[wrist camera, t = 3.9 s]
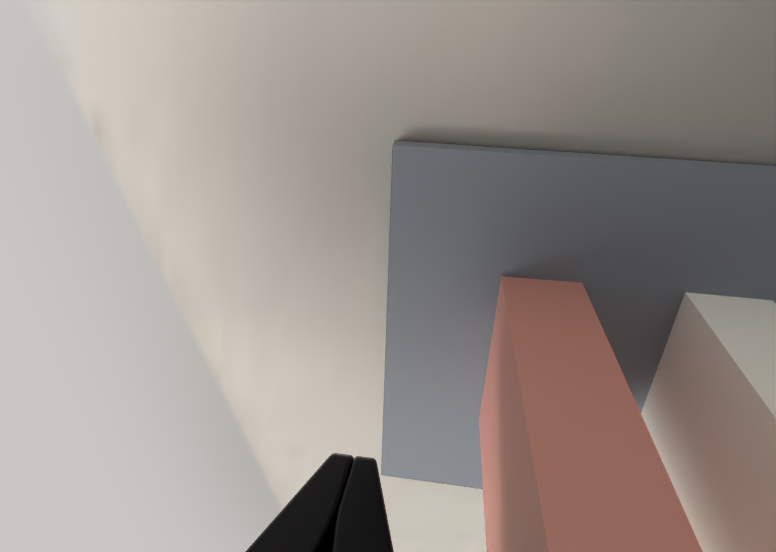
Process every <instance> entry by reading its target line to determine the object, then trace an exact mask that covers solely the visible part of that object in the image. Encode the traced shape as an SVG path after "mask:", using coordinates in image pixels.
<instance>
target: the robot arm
mask: <svg viewBox="0 0 776 552" xmlns="http://www.w3.org/2000/svg"><path fill="white" fill-rule="evenodd" d="M246 552H394V551H393V546H392V541H391V535H390V530H389V525H388V520H387V514H386V509H385V504H384V499H383V493H382V488H381V483H380V478H379V472H378V467H377V462H376V460H375V459H374V458H368V457H361V456H357V457H355V458H353V456H351V455H346V454H338V453H334V454H332V455H330V456H329V458H328V459H327V460H326V461H325V462H324V463H323V464H322V465H321V467H320V468H319V469H318V470H317V471H316V472H315V473H314V475H313V476H312V477H311V478H310V479H309V480H308V481H307V483H306V484H305V485H304V486H303V487H302V488H301V489H300V490H299V492H298V493H297V494H296V495H295V496H294V497H293V498H292V500H291V501H290V502H289V503H288V504H287V505H286V506H285V508H284V509H283V510H282V511H281V512H280V513H279V514H278V516H277V517H276V518H275V519H274V520H273V521H272V522H271V523H270V525H269V526H268V527H267V528H266V529H265V530H264V531H263V533H262V534H261V535H260V536H259V537H258V538H257V539H256V541H255V542H254V543H253V544H252V545H251V546H250V547H249V549H248V550H247V551H246Z"/></svg>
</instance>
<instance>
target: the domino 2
mask: <svg viewBox="0 0 776 552" xmlns="http://www.w3.org/2000/svg"><path fill="white" fill-rule="evenodd" d="M641 415H642V417H643V420H644V422H645V424H646V426H647V428H648V431H649V433H650V435H651V437H652V440H653V442H654V444H655V446H656V449H657V451H658V453H659V455H660V458H661V460H662V462H663V464H664V467H665V469H666V471H667V473H668V475H669V478H670V480H671V482H672V484H673V487H674V489H675V491H676V493H677V496H678V498H679V500H680V502H681V505H682V507H683V509H684V511H685V513H686V516H687V518H688V520H689V522H690V525H691V527H692V529H693V531H694V534H695V536H696V538H697V540H698V543H699V545H700V547H701V549H702V551H703V552H776V303H775V302H774V301H773V300H763V299H753V298H742V297H731V296H720V295H710V294H699V293H688V292H685V294H684V297H683V300H682V302H681V305H680V308H679V311H678V313H677V316H676V319H675V322H674V324H673V327H672V330H671V333H670V335H669V338H668V341H667V344H666V346H665V349H664V352H663V355H662V357H661V360H660V363H659V366H658V368H657V371H656V374H655V377H654V379H653V382H652V385H651V388H650V390H649V393H648V396H647V398H646V401H645V404H644V407H643V409H642V412H641Z"/></svg>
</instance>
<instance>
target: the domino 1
mask: <svg viewBox="0 0 776 552" xmlns="http://www.w3.org/2000/svg"><path fill="white" fill-rule="evenodd" d="M479 432H480V448H481V464H482V481H483V497H484V513H485V529H486V546H487V552H703V551H702V549H701V547H700V545H699V543H698V540H697V538H696V536H695V534H694V531H693V529H692V527H691V525H690V522H689V520H688V518H687V516H686V513H685V511H684V509H683V507H682V505H681V502H680V500H679V498H678V496H677V493H676V491H675V489H674V487H673V484H672V482H671V480H670V478H669V475H668V473H667V471H666V469H665V467H664V464H663V462H662V460H661V458H660V455H659V453H658V451H657V449H656V446H655V444H654V442H653V440H652V437H651V435H650V433H649V431H648V428H647V426H646V424H645V422H644V420H643V417H642V415H641V413H640V411H639V408H638V406H637V404H636V402H635V399H634V397H633V395H632V393H631V390H630V388H629V386H628V384H627V382H626V379H625V377H624V375H623V373H622V370H621V368H620V366H619V364H618V361H617V359H616V357H615V355H614V352H613V350H612V348H611V346H610V344H609V341H608V339H607V337H606V335H605V332H604V330H603V328H602V326H601V323H600V321H599V319H598V317H597V314H596V312H595V310H594V308H593V306H592V303H591V301H590V299H589V297H588V294H587V292H586V290H585V288H584V285H583V283H581V282H568V281H556V280H543V279H530V278H518V277H505V276H501V281H500V287H499V294H498V300H497V306H496V313H495V319H494V325H493V332H492V338H491V344H490V351H489V357H488V363H487V370H486V376H485V382H484V388H483V395H482V401H481V407H480V414H479Z"/></svg>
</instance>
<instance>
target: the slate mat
mask: <svg viewBox="0 0 776 552" xmlns="http://www.w3.org/2000/svg"><path fill="white" fill-rule="evenodd" d="M501 276H505V277H518V278H530V279H543V280H556V281H568V282H581V283H583V285H584V288H585V290H586V292H587V294H588V297H589V299H590V301H591V303H592V306H593V308H594V310H595V312H596V314H597V317H598V319H599V321H600V323H601V326H602V328H603V330H604V332H605V335H606V337H607V339H608V341H609V344H610V346H611V348H612V350H613V352H614V355H615V357H616V359H617V361H618V364H619V366H620V368H621V370H622V373H623V375H624V377H625V379H626V382H627V384H628V386H629V388H630V390H631V393H632V395H633V397H634V399H635V402H636V404H637V406H638V408H639V411H640V413H641V412H642V409H643V407H644V404H645V401H646V398H647V396H648V393H649V390H650V388H651V385H652V382H653V379H654V377H655V374H656V371H657V368H658V366H659V363H660V360H661V357H662V355H663V352H664V349H665V346H666V344H667V341H668V338H669V335H670V333H671V330H672V327H673V324H674V322H675V319H676V316H677V313H678V311H679V308H680V305H681V302H682V300H683V297H684V294H685V292H688V293H699V294H710V295H720V296H731V297H742V298H753V299H763V300H773V301H774V302H775V303H776V166H771V165H756V164H741V163H726V162H711V161H696V160H681V159H666V158H651V157H636V156H621V155H606V154H591V153H576V152H561V151H546V150H531V149H516V148H501V147H486V146H471V145H456V144H441V143H426V142H411V141H396V140H395V142H394V144H393V151H392V179H391V208H390V236H389V265H388V293H387V322H386V350H385V379H384V407H383V436H382V464H381V475H384V476H392V477H399V478H406V479H413V480H421V481H428V482H435V483H442V484H449V485H457V486H464V487H471V488H478V489H483V481H482V464H481V448H480V432H479V414H480V407H481V401H482V395H483V388H484V382H485V376H486V370H487V363H488V357H489V351H490V344H491V338H492V332H493V325H494V319H495V313H496V306H497V300H498V294H499V287H500V281H501Z"/></svg>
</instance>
